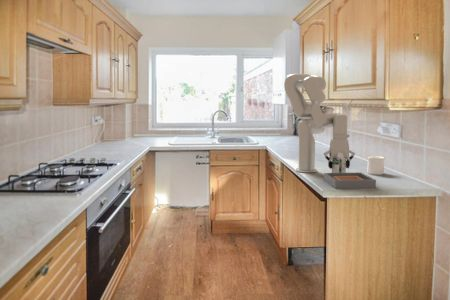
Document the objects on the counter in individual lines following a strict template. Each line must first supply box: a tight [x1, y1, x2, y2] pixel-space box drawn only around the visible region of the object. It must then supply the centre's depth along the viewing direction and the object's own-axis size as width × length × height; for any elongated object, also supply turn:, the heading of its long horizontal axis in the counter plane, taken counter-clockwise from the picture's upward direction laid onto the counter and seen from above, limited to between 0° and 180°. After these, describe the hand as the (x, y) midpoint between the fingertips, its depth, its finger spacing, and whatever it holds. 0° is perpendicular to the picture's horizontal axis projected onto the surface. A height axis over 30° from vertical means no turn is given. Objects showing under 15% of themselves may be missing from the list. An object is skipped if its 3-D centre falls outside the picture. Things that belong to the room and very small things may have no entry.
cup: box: [366, 155, 385, 176], centre depth 238 cm, size 10×10×10 cm
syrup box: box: [331, 152, 347, 173], centre depth 226 cm, size 6×6×14 cm
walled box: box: [323, 172, 377, 189], centre depth 210 cm, size 20×20×4 cm
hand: (338, 168), depth 226 cm, fingers open, 9 cm apart
